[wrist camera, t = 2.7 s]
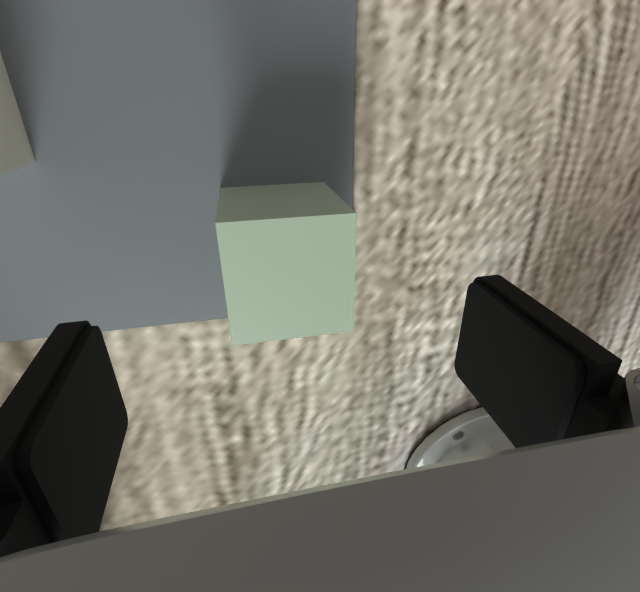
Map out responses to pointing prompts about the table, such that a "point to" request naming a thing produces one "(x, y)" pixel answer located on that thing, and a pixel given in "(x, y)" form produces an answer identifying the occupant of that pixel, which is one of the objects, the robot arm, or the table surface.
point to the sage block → (286, 261)
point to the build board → (155, 146)
